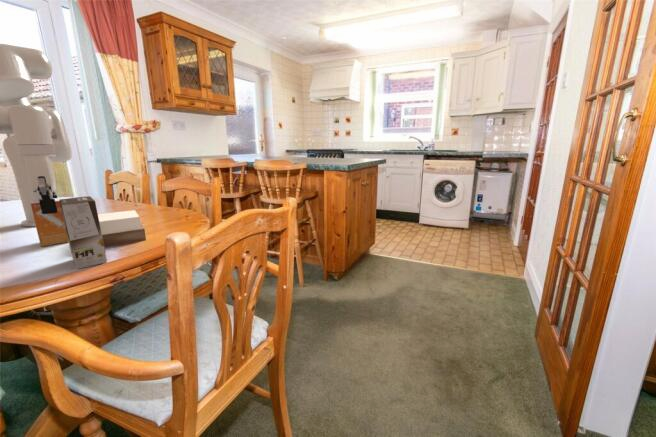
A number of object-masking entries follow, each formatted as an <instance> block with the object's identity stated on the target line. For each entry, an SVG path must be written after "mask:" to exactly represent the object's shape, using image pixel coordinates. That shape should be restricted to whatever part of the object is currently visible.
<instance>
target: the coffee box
mask: <svg viewBox="0 0 656 437" xmlns="http://www.w3.org/2000/svg"><path fill="white" fill-rule="evenodd" d="M59 201H60V207H61V211H62V215H63V220H64V224H65V228H66V233H67V237H68V241H69V242H68V244H69V249H70V252H71V256H72V261H73V263H74V266H75V269H77V270H79V269H84V268H88V267H91V266H97V265H100V264H106V263H107V262H108V261H107V260H108V259H107V254H106V249H105V248H106V247H104V243H103V238H102V233H101V228H100V223H99V218H98V210H97V203H96V201H95V199H94V198H92V196H90V195H88V196H79V197H77V196H76V197H70V198H67V199H60V200H59Z"/></svg>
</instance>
